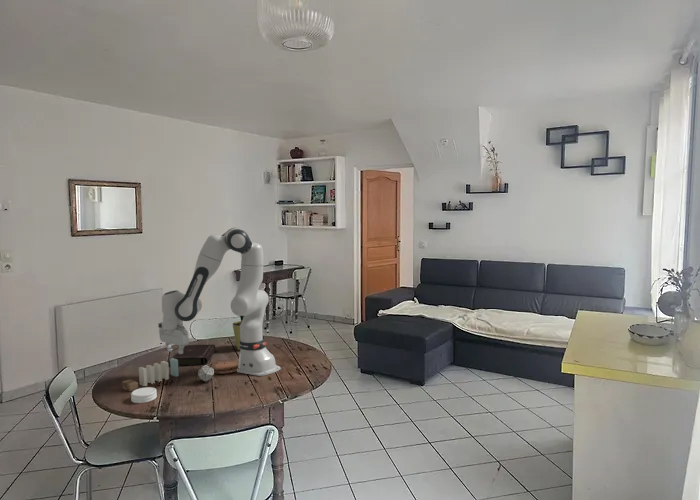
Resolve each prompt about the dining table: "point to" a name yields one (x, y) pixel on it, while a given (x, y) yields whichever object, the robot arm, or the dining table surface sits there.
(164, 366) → the domino
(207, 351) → the diary
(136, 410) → the dining table surface
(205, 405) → the dining table surface
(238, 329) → the potted cactus
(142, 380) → the domino
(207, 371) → the game die
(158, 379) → the domino
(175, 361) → the domino
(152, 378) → the domino
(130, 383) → the block
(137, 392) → the coaster
